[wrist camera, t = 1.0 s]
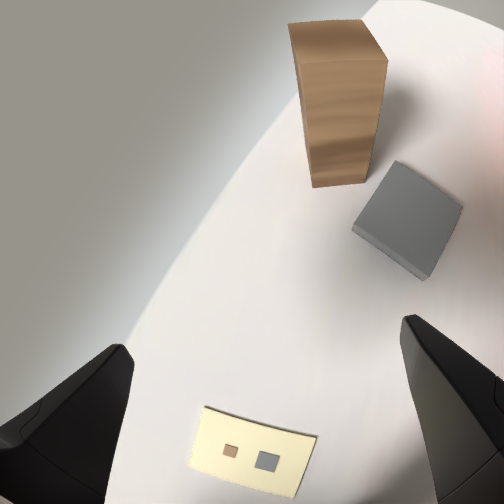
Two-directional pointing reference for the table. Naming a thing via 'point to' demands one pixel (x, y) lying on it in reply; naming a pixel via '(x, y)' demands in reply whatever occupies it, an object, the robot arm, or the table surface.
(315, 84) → the pillar
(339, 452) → the table surface
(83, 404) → the robot arm
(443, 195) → the base plate
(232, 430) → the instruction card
